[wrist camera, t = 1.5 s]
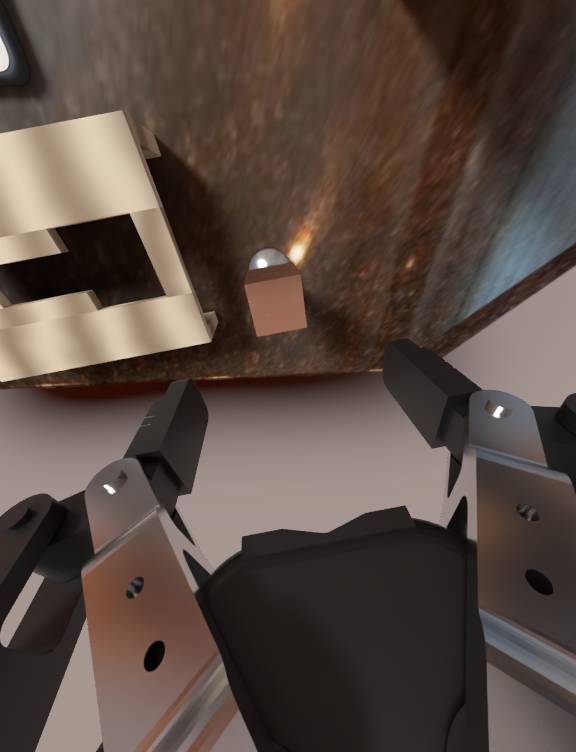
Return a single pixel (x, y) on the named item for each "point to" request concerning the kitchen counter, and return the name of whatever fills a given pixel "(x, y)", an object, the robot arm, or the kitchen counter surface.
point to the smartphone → (11, 54)
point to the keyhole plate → (39, 238)
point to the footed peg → (274, 293)
